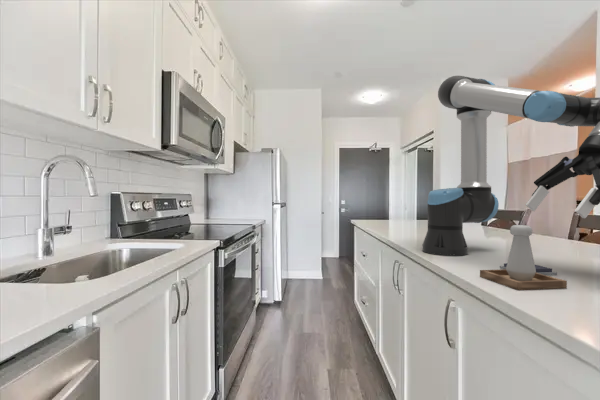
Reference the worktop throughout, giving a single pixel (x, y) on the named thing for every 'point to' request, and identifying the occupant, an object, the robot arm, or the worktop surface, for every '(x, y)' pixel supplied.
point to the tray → (536, 283)
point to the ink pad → (538, 270)
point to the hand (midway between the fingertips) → (552, 211)
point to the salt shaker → (521, 254)
